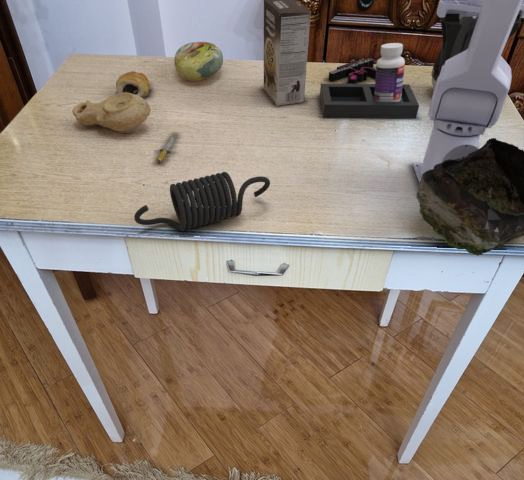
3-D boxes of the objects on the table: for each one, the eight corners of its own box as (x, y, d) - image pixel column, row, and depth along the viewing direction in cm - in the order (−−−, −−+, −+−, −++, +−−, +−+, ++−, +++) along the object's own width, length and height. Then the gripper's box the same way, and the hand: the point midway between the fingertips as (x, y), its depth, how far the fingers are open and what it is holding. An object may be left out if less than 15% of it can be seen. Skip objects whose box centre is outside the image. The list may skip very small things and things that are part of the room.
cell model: (172, 79, 98) (165, 26, 102) (186, 106, 105) (179, 56, 110) (219, 61, 96) (210, 9, 100) (231, 90, 103) (222, 40, 108)
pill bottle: (400, 105, 91) (405, 47, 84) (372, 105, 93) (375, 49, 86) (402, 96, 95) (407, 40, 88) (375, 97, 96) (378, 42, 90)
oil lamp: (80, 124, 91) (67, 99, 87) (149, 101, 91) (139, 75, 87) (85, 154, 85) (71, 129, 81) (158, 130, 86) (148, 104, 82)
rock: (431, 210, 56) (397, 256, 65) (584, 250, 57) (530, 290, 66) (437, 110, 63) (406, 164, 73) (572, 147, 64) (525, 196, 74)
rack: (415, 118, 91) (419, 105, 90) (323, 117, 92) (324, 104, 90) (406, 96, 98) (409, 84, 96) (319, 96, 98) (320, 83, 96)
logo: (366, 56, 108) (400, 69, 103) (365, 64, 109) (398, 77, 104) (325, 70, 102) (358, 85, 97) (324, 78, 103) (357, 93, 99)
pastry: (123, 82, 102) (119, 63, 99) (153, 82, 102) (150, 63, 99) (116, 100, 96) (112, 80, 93) (149, 100, 96) (145, 80, 93)
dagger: (169, 131, 86) (180, 134, 87) (169, 136, 87) (179, 139, 87) (152, 158, 79) (164, 160, 80) (153, 162, 80) (164, 165, 80)
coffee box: (262, 88, 100) (262, -2, 87) (290, 85, 101) (294, -5, 89) (275, 106, 94) (278, 12, 82) (305, 102, 96) (312, 9, 83)
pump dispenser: (479, 107, 95) (510, 20, 83) (427, 103, 96) (451, 16, 84) (473, 87, 101) (501, 3, 89) (425, 83, 102) (446, 0, 90)
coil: (264, 204, 75) (272, 241, 70) (137, 201, 71) (135, 239, 66) (270, 164, 69) (279, 201, 64) (132, 158, 65) (130, 197, 60)
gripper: (533, -39, 74) (499, 56, 85) (443, -40, 74) (420, 55, 85) (550, -27, 70) (511, 71, 80) (454, -28, 70) (428, 70, 80)
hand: (465, 64), depth 82 cm, fingers open, 7 cm apart
